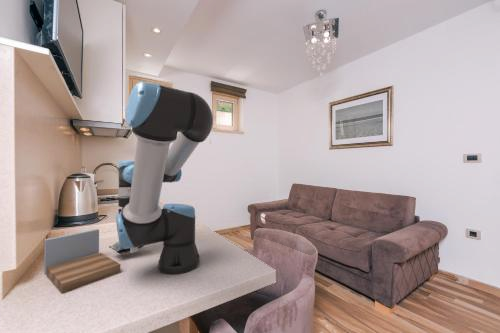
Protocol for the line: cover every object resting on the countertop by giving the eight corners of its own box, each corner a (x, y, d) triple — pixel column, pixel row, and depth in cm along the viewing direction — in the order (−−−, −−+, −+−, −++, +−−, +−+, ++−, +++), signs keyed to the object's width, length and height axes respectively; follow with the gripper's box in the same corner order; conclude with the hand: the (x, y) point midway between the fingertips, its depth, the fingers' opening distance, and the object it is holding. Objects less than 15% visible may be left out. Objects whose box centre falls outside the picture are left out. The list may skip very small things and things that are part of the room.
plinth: (120, 272, 75) (120, 264, 75) (61, 294, 62) (61, 283, 62) (100, 260, 86) (100, 252, 86) (46, 276, 73) (46, 267, 73)
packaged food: (108, 252, 89) (108, 240, 89) (138, 245, 98) (138, 234, 98) (116, 258, 83) (116, 245, 83) (146, 249, 92) (146, 238, 92)
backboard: (98, 259, 87) (99, 229, 87) (45, 274, 74) (45, 240, 74) (97, 257, 88) (97, 229, 88) (44, 273, 75) (44, 239, 75)
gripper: (150, 197, 88) (150, 252, 87) (126, 194, 101) (126, 242, 100) (131, 199, 82) (131, 258, 81) (108, 196, 95) (108, 247, 94)
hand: (128, 249), depth 90 cm, fingers closed on packaged food, 9 cm apart
